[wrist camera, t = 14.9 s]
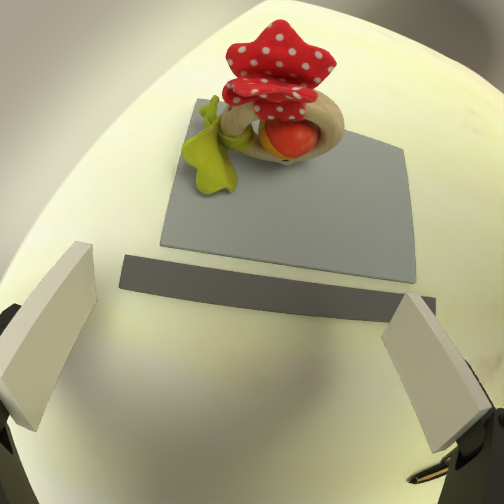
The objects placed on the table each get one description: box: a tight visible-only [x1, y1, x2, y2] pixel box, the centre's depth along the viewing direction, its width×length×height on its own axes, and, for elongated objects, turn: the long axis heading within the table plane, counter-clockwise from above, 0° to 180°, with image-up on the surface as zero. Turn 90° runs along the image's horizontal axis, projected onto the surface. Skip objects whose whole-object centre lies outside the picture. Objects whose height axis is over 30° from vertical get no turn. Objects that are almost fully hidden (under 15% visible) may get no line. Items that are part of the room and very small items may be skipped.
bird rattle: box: [182, 20, 344, 194], centre depth 16 cm, size 6×11×9 cm
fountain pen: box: [409, 462, 449, 484], centre depth 17 cm, size 14×1×2 cm, turn 86°
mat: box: [119, 99, 436, 322], centre depth 21 cm, size 22×15×1 cm
